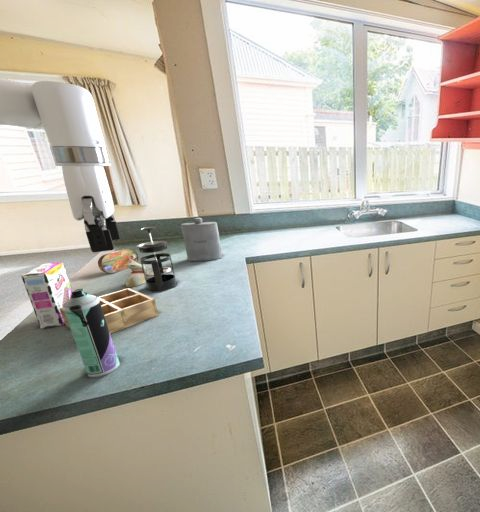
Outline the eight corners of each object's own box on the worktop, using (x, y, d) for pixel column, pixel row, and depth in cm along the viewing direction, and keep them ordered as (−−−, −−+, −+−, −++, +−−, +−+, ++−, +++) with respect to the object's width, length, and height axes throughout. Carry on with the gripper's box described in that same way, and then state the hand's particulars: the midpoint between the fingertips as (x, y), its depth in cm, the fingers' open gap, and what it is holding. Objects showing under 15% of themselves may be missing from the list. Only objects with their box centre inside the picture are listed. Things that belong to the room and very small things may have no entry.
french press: (148, 284, 114) (133, 226, 107) (177, 279, 119) (165, 223, 112) (145, 295, 105) (128, 232, 98) (177, 289, 110) (163, 229, 102)
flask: (186, 262, 139) (177, 220, 133) (189, 258, 144) (181, 217, 138) (221, 259, 143) (214, 218, 137) (223, 255, 149) (217, 216, 142)
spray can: (121, 368, 68) (96, 289, 62) (89, 381, 64) (58, 298, 58) (117, 358, 72) (93, 282, 66) (86, 369, 68) (57, 290, 62)
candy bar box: (64, 325, 86) (44, 272, 81) (40, 329, 83) (18, 275, 78) (80, 309, 95) (63, 261, 90) (58, 312, 93) (40, 263, 88)
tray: (89, 341, 78) (83, 323, 76) (65, 325, 86) (59, 308, 84) (158, 315, 92) (154, 298, 90) (133, 303, 99) (128, 287, 98)
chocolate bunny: (152, 281, 116) (146, 257, 113) (127, 288, 110) (120, 263, 107) (146, 278, 119) (140, 255, 116) (122, 285, 113) (115, 260, 110)
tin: (105, 276, 122) (99, 256, 119) (99, 275, 122) (93, 256, 120) (140, 264, 136) (136, 246, 133) (135, 263, 136) (130, 246, 134)
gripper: (66, 157, 60) (91, 238, 66) (37, 157, 47) (71, 259, 52) (114, 158, 64) (134, 234, 70) (100, 158, 51) (126, 252, 56)
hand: (107, 245), depth 61 cm, fingers open, 9 cm apart
